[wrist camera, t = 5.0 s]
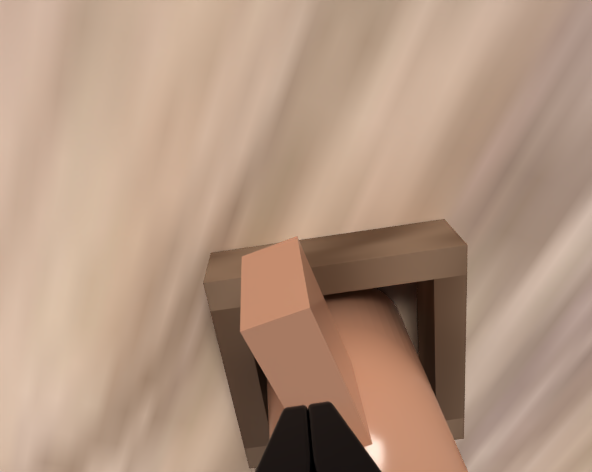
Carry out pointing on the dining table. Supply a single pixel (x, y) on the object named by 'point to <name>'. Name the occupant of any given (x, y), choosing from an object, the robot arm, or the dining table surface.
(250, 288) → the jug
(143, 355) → the dining table surface
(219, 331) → the socket
